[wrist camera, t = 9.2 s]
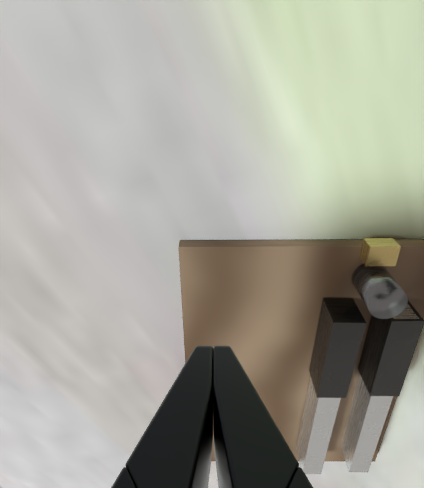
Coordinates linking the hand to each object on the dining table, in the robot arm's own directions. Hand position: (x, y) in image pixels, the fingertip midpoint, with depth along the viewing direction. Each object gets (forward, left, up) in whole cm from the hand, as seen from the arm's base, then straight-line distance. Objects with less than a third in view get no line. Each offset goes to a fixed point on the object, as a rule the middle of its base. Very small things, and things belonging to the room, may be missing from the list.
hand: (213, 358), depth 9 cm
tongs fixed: (-10, +12, -11) cm, 19 cm away
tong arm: (-7, +14, -11) cm, 19 cm away
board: (-6, +13, -12) cm, 19 cm away
